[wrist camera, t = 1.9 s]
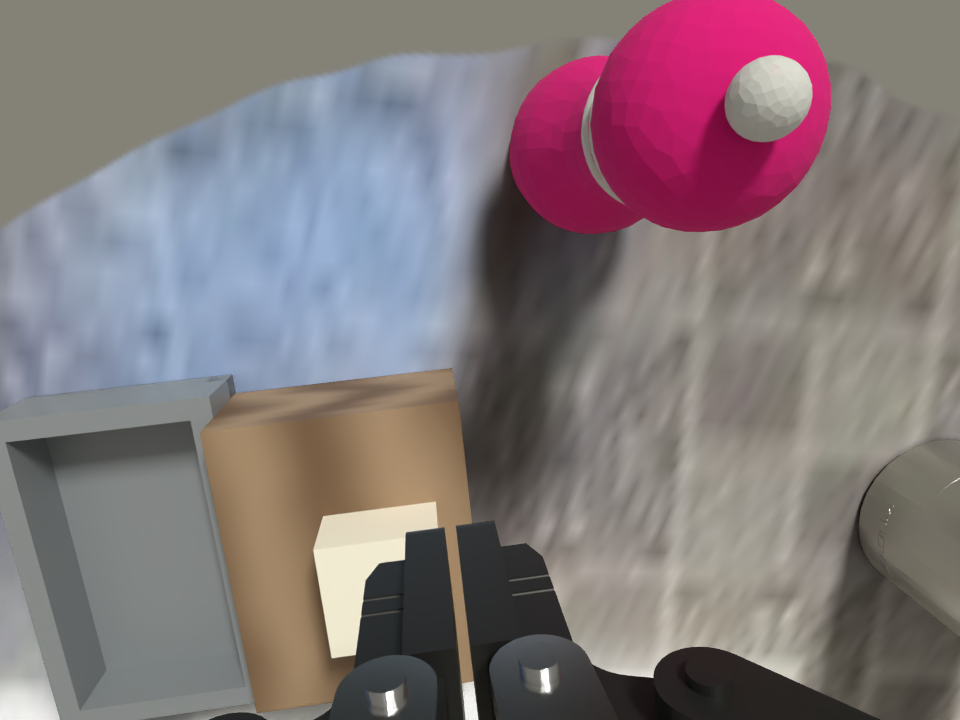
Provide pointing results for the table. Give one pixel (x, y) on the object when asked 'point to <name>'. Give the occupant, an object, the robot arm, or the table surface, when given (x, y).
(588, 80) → the pepper mill
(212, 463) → the ledge
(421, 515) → the cream square block
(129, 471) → the box
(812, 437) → the table surface
